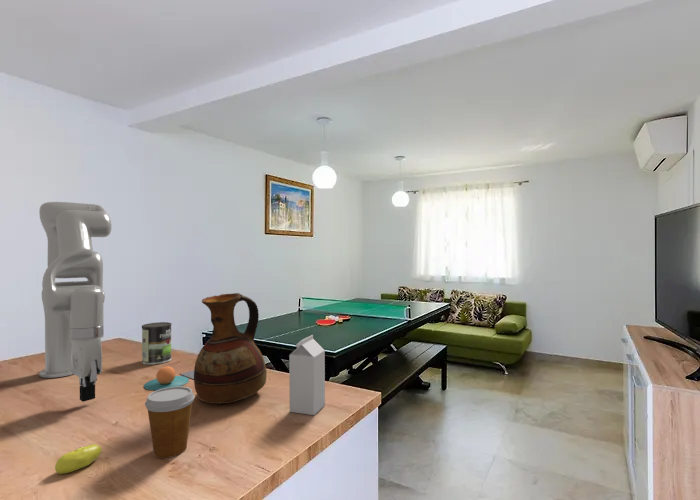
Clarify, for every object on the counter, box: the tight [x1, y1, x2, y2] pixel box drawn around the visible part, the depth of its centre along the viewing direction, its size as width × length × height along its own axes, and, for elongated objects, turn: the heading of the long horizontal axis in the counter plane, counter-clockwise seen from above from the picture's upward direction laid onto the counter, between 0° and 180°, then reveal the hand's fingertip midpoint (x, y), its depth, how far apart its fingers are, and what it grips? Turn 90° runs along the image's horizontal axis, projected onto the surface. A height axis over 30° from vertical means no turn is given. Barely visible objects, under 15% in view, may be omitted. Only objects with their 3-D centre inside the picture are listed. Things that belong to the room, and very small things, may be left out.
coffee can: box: [141, 321, 172, 366], centre depth 148 cm, size 10×10×14 cm
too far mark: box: [179, 369, 194, 381], centre depth 132 cm, size 10×10×1 cm
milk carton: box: [288, 334, 326, 416], centre depth 102 cm, size 7×7×19 cm
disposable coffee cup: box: [144, 386, 195, 459], centre depth 81 cm, size 10×10×12 cm
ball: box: [155, 365, 176, 384], centre depth 122 cm, size 6×6×6 cm
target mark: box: [143, 375, 190, 391], centre depth 123 cm, size 13×13×1 cm
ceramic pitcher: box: [193, 292, 267, 404], centre depth 112 cm, size 20×20×30 cm
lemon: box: [54, 443, 102, 475], centre depth 75 cm, size 4×8×4 cm, turn 145°
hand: (87, 399), depth 106 cm, fingers closed
